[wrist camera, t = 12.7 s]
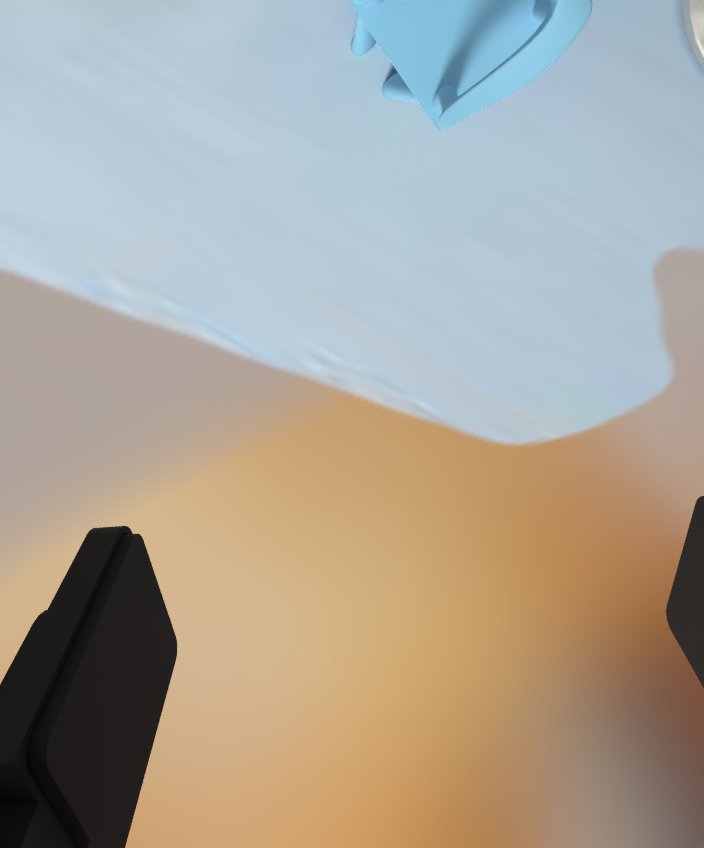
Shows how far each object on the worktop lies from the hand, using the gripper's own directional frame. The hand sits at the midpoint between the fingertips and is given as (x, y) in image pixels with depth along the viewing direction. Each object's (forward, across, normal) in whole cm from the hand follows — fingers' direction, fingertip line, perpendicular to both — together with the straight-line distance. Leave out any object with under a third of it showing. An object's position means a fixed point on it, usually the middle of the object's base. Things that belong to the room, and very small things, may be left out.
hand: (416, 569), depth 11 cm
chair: (+28, -4, -9) cm, 30 cm away
